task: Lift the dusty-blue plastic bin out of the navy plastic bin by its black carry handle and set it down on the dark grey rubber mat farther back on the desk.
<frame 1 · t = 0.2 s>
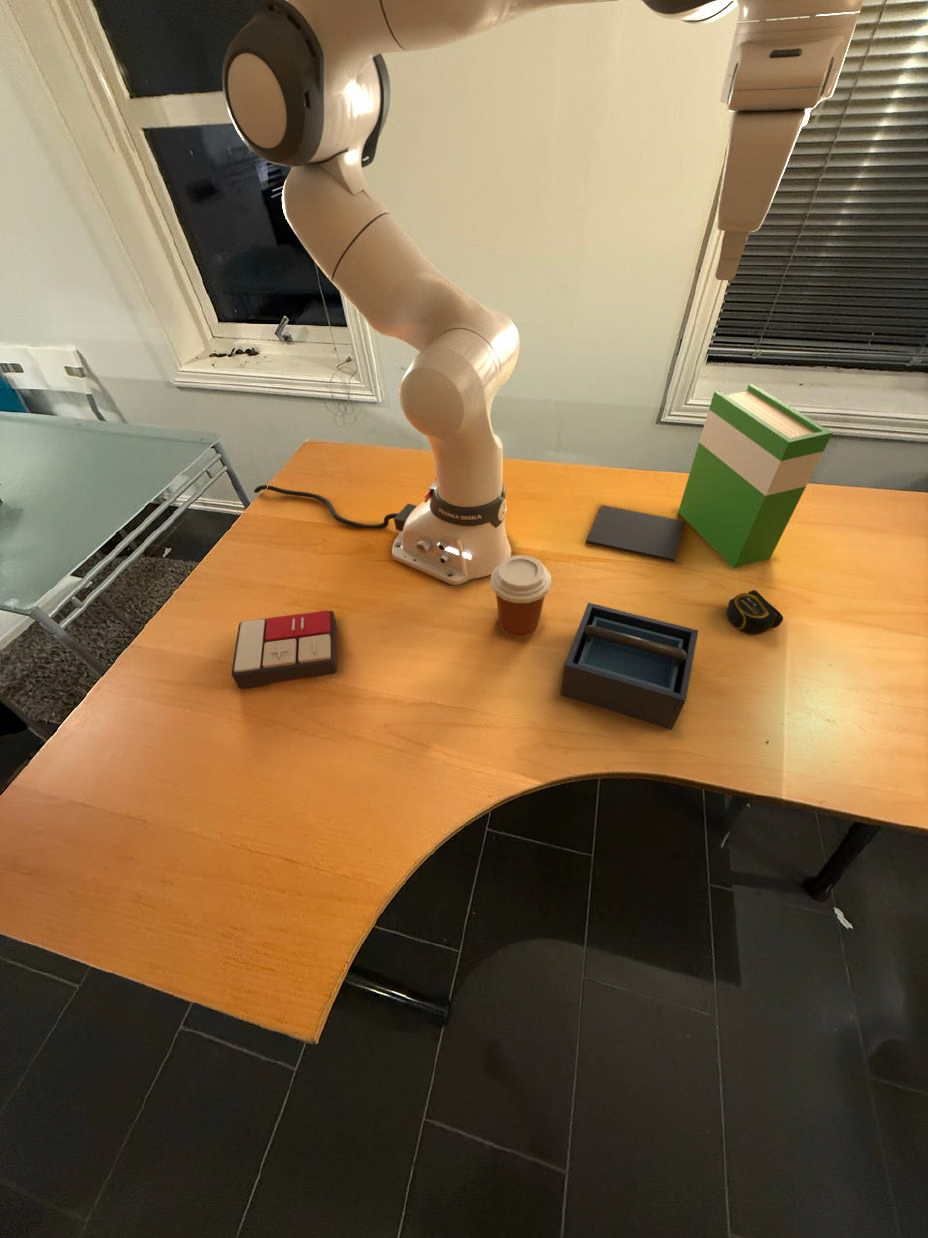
hand: (728, 264, 54), 48 cm above the table, tool pointing down, fingers open, 8 cm apart
inner bin: (623, 677, 77), point 1 cm above the table, touching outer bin
tape measure: (748, 620, 84), on the table
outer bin: (623, 679, 77), on the table
hardback book: (721, 534, 99), on the table
button control panel: (291, 655, 84), on the table
mat: (635, 533, 100), on the table
coffee cup: (518, 625, 86), on the table
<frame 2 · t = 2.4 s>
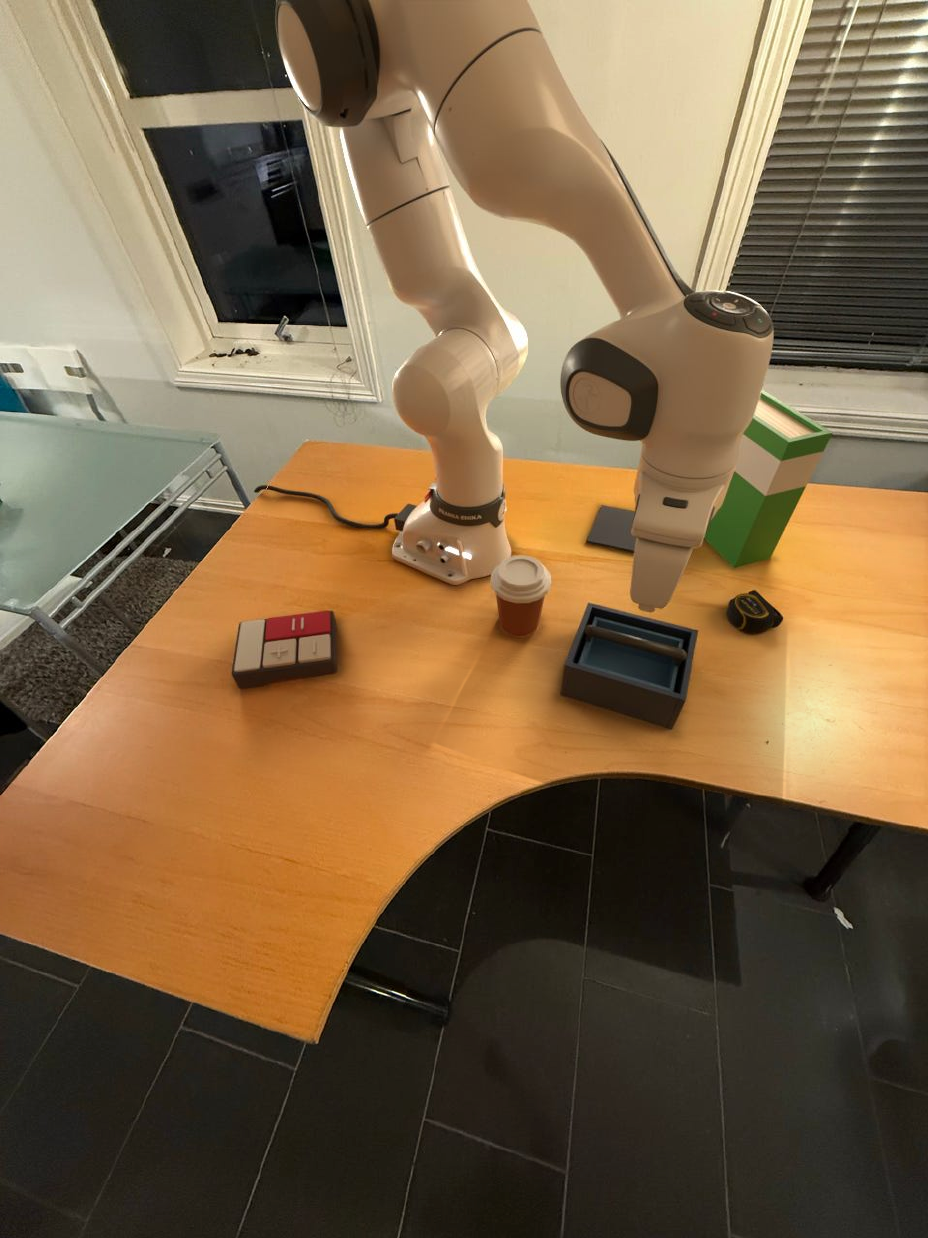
hand: (653, 580, 63), 20 cm above the table, tool pointing down, fingers open, 8 cm apart
nothing on the table moved.
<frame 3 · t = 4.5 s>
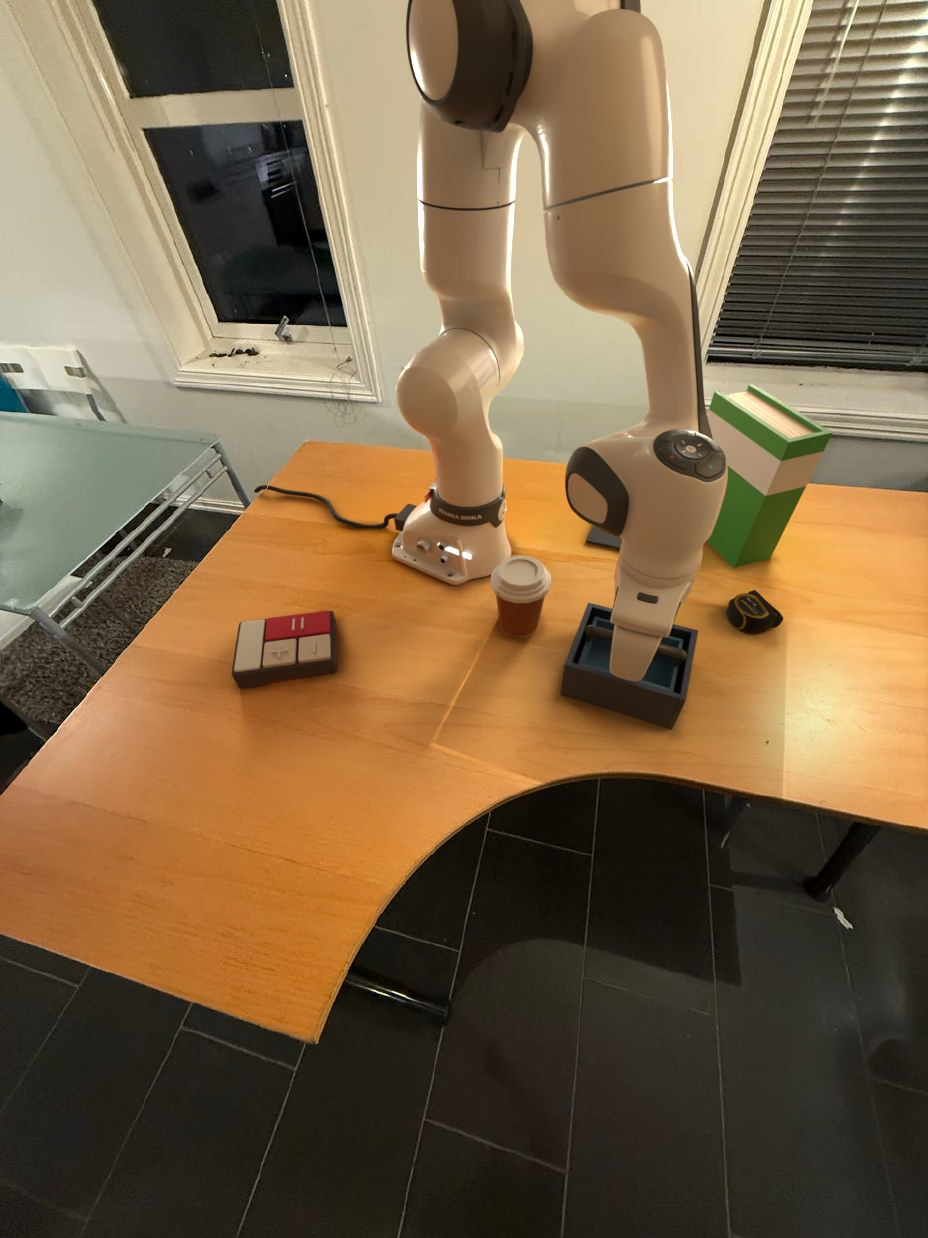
hand: (632, 646, 72), 8 cm above the table, tool pointing down, fingers closed on inner bin
inner bin: (623, 677, 77), point 1 cm above the table, touching gripper, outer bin
everything else where it was.
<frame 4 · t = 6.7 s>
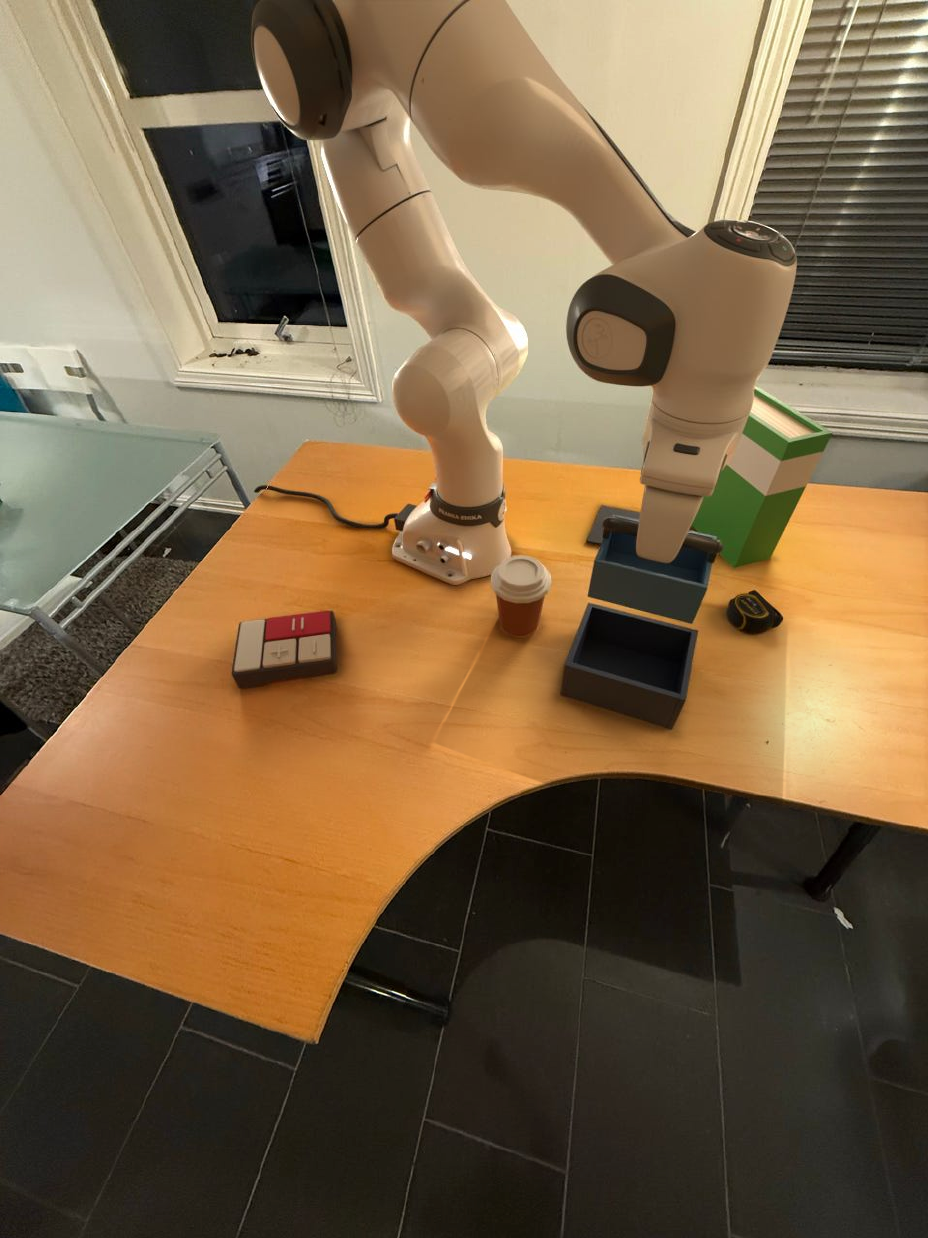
hand: (658, 540, 61), 24 cm above the table, tool pointing down, fingers closed on inner bin
inner bin: (645, 584, 67), point 17 cm above the table, touching gripper
everything else where it was.
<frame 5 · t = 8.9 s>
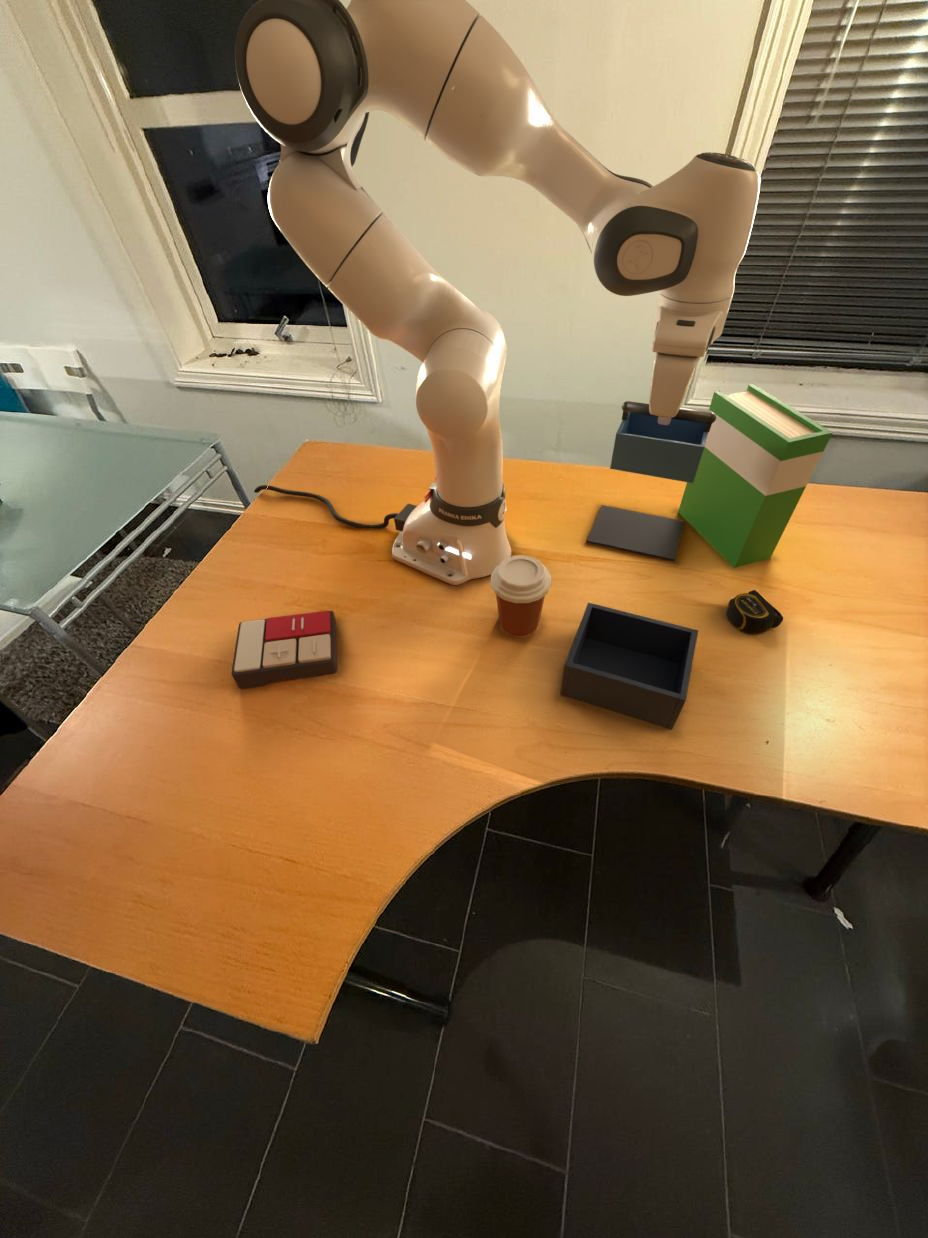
hand: (665, 418, 79), 25 cm above the table, tool pointing down, fingers closed on inner bin
inner bin: (656, 460, 84), point 18 cm above the table, touching gripper
everything else where it was.
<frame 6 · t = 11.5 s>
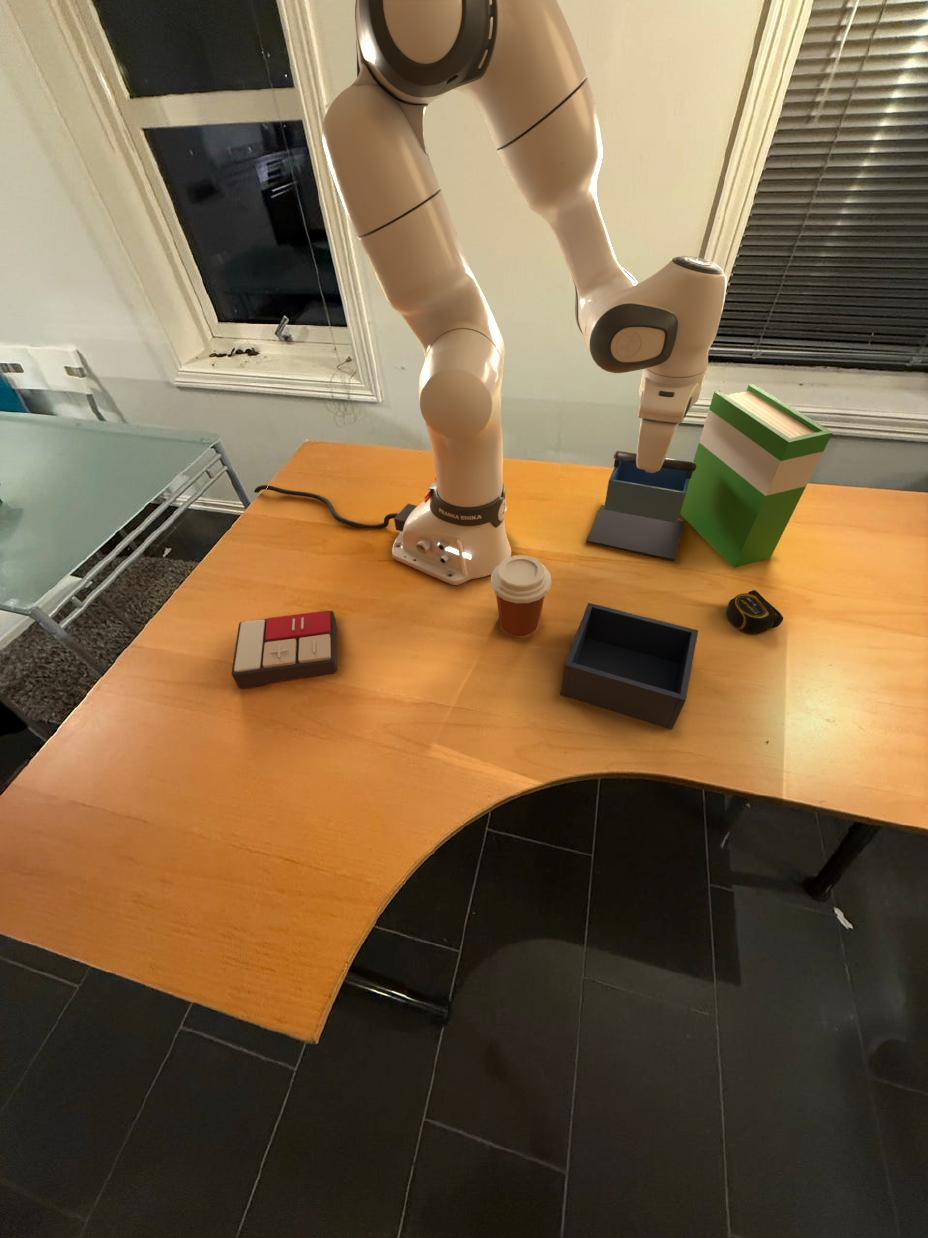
hand: (652, 466, 90), 14 cm above the table, tool pointing down, fingers closed on inner bin
inner bin: (644, 501, 95), point 7 cm above the table, touching gripper
everything else where it was.
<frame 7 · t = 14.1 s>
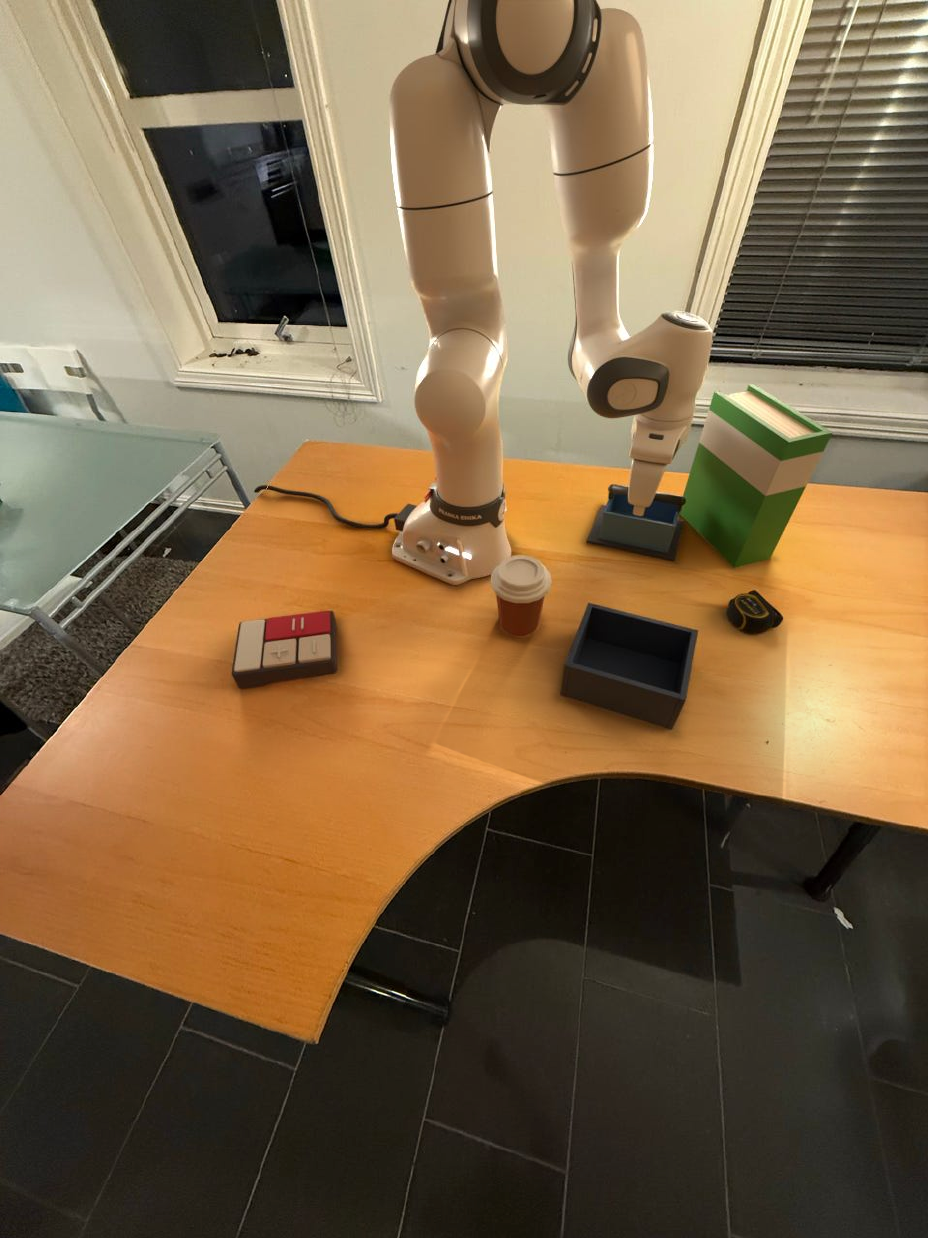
hand: (643, 498, 94), 8 cm above the table, tool pointing down, fingers open, 8 cm apart
inner bin: (637, 530, 100), point 1 cm above the table, touching mat
everything else where it was.
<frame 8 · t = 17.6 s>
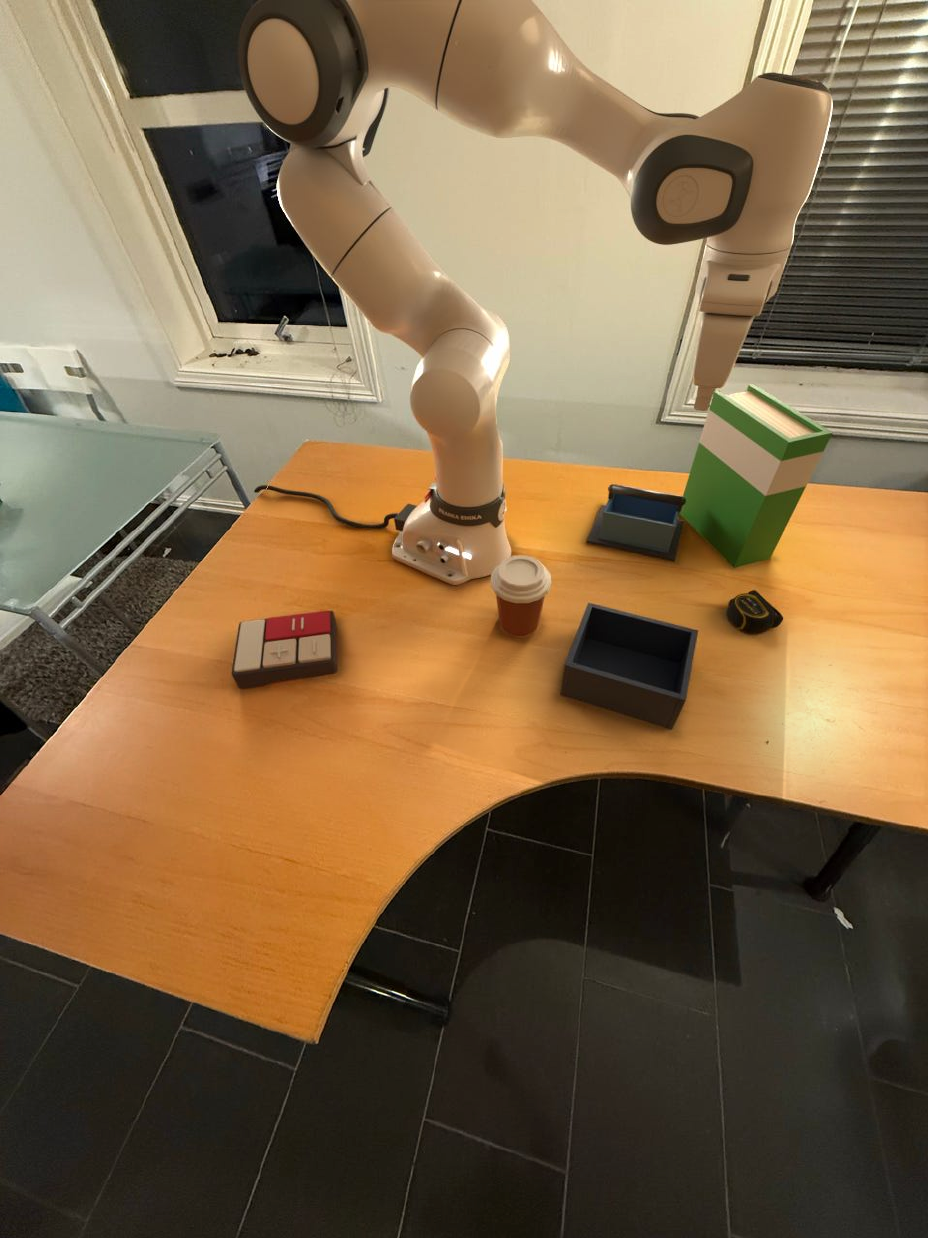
hand: (705, 392, 71), 31 cm above the table, tool pointing down, fingers open, 8 cm apart
nothing on the table moved.
at the end: inner bin inside the target area on the mat (0.2 cm from its centre), point 0.6 cm above the mat's base; inner bin touching mat; inner bin tilted 0° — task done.
